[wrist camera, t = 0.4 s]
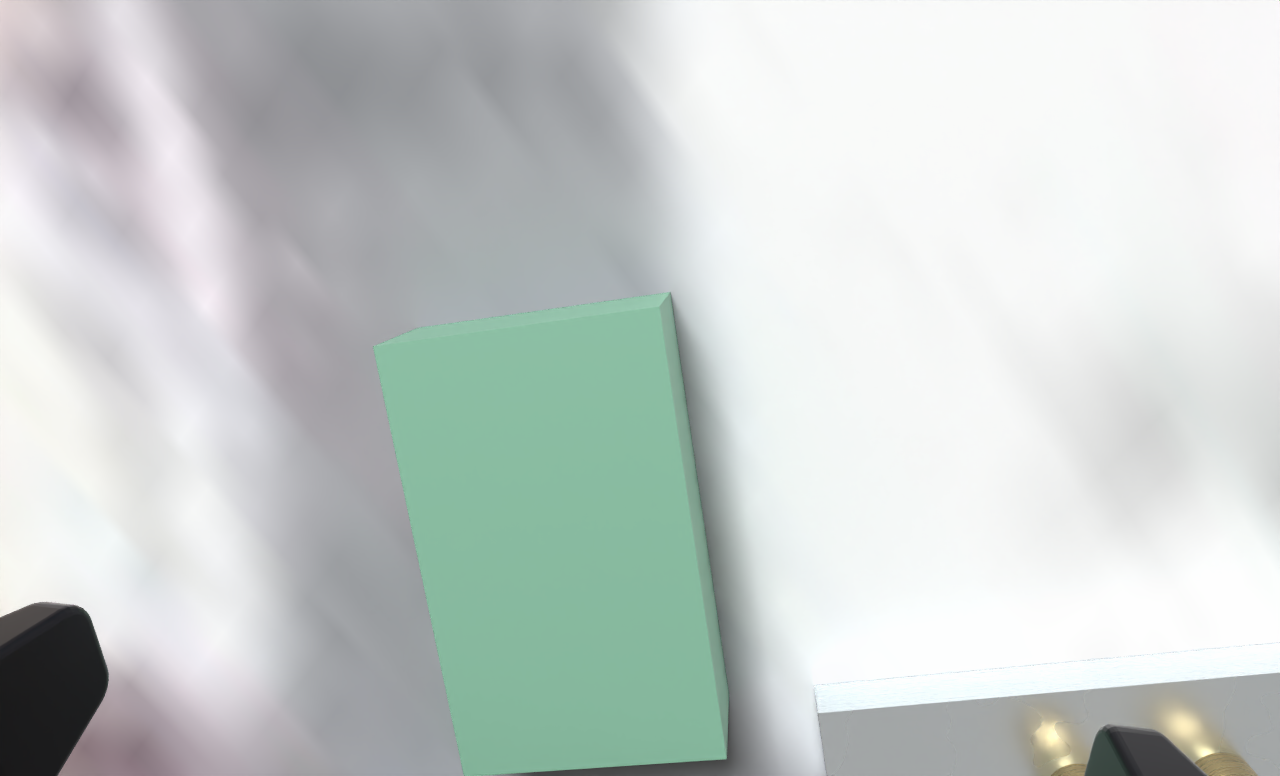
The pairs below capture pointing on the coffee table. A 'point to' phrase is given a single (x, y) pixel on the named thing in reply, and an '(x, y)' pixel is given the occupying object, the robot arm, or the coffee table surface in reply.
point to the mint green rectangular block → (561, 536)
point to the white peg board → (1057, 715)
